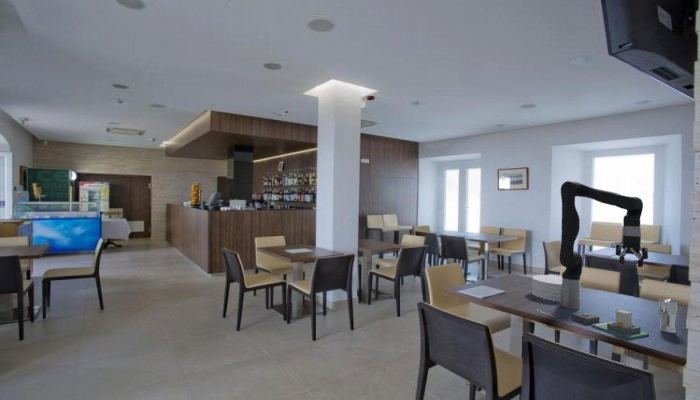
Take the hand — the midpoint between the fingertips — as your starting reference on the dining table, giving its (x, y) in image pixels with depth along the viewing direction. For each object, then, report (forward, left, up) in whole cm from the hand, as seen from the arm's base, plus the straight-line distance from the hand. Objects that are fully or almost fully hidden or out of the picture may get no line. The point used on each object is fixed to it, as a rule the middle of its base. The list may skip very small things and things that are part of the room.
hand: (631, 265), depth 189 cm
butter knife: (-20, -29, -31) cm, 47 cm away
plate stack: (-50, +7, -30) cm, 59 cm away
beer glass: (+14, +5, -30) cm, 34 cm away
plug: (+8, -18, -29) cm, 35 cm away
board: (+6, -18, -30) cm, 36 cm away
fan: (-10, -20, -30) cm, 37 cm away
